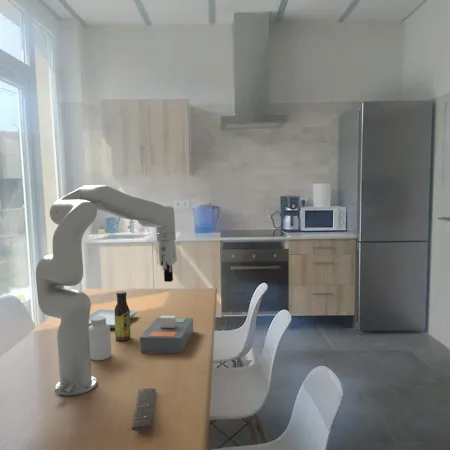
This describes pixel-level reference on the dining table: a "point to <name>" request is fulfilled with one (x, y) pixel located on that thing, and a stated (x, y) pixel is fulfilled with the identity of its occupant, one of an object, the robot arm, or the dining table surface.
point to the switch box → (167, 337)
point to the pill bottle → (99, 339)
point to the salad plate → (108, 316)
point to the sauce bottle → (122, 317)
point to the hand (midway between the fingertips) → (168, 281)
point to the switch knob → (167, 321)
